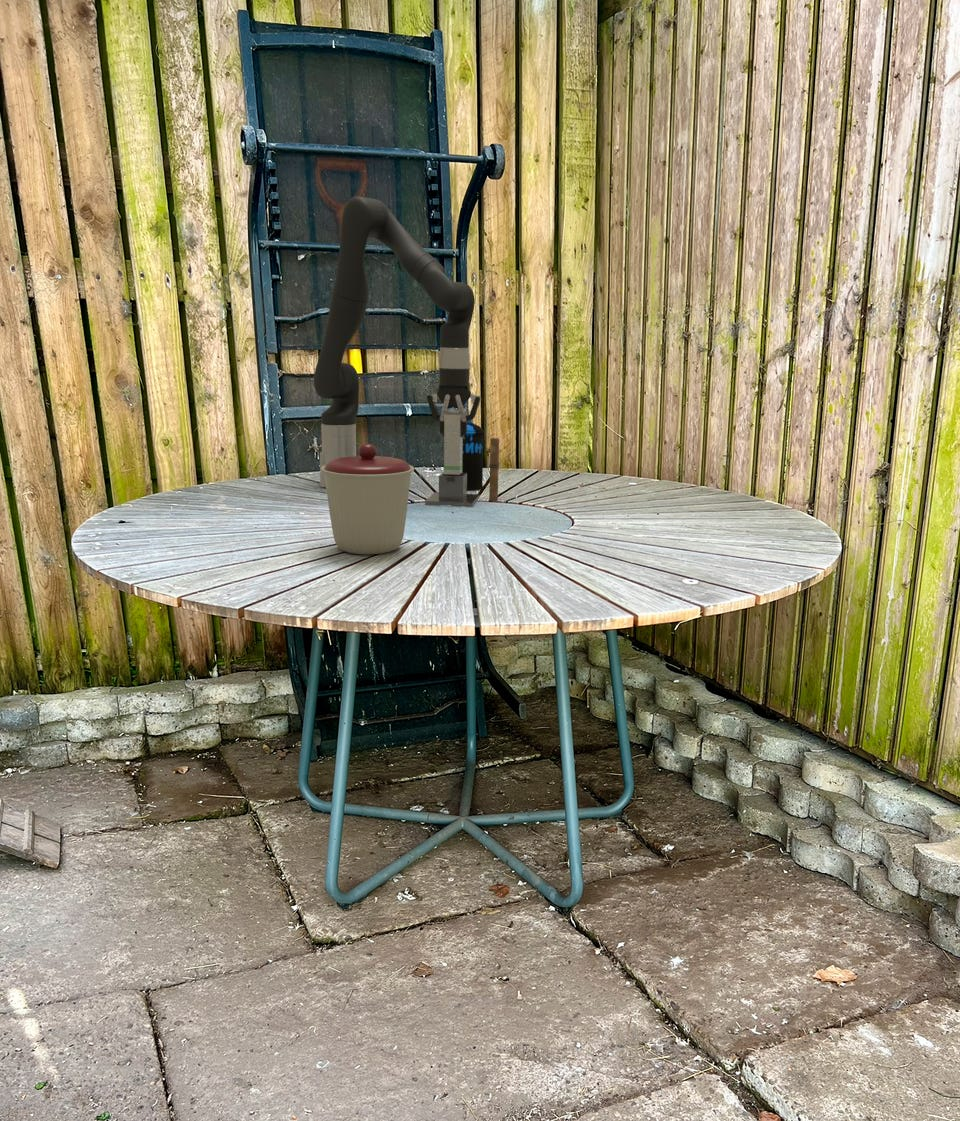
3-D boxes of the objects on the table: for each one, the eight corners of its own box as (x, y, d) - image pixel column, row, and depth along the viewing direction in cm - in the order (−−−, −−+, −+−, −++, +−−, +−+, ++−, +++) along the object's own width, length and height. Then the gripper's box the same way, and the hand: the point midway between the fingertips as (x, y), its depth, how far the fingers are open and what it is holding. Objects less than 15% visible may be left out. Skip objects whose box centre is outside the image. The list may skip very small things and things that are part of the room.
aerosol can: (454, 485, 252) (455, 413, 247) (483, 486, 252) (485, 414, 247) (452, 490, 244) (453, 416, 239) (482, 491, 244) (484, 417, 239)
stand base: (425, 504, 224) (425, 477, 222) (434, 496, 235) (434, 469, 233) (472, 507, 222) (472, 479, 220) (479, 498, 234) (479, 471, 232)
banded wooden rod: (488, 500, 230) (490, 438, 226) (489, 499, 232) (491, 437, 228) (497, 501, 230) (498, 439, 226) (498, 499, 232) (499, 438, 228)
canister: (305, 547, 179) (301, 442, 174) (376, 534, 191) (375, 436, 186) (360, 565, 167) (358, 452, 161) (432, 550, 179) (433, 445, 174)
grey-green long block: (442, 474, 225) (443, 411, 221) (445, 471, 229) (446, 410, 225) (460, 475, 224) (461, 412, 220) (463, 472, 229) (464, 410, 225)
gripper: (422, 366, 217) (422, 437, 222) (480, 368, 216) (479, 439, 220) (428, 365, 225) (428, 433, 229) (484, 366, 223) (483, 435, 227)
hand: (453, 436), depth 224 cm, fingers closed on grey-green long block, 4 cm apart
